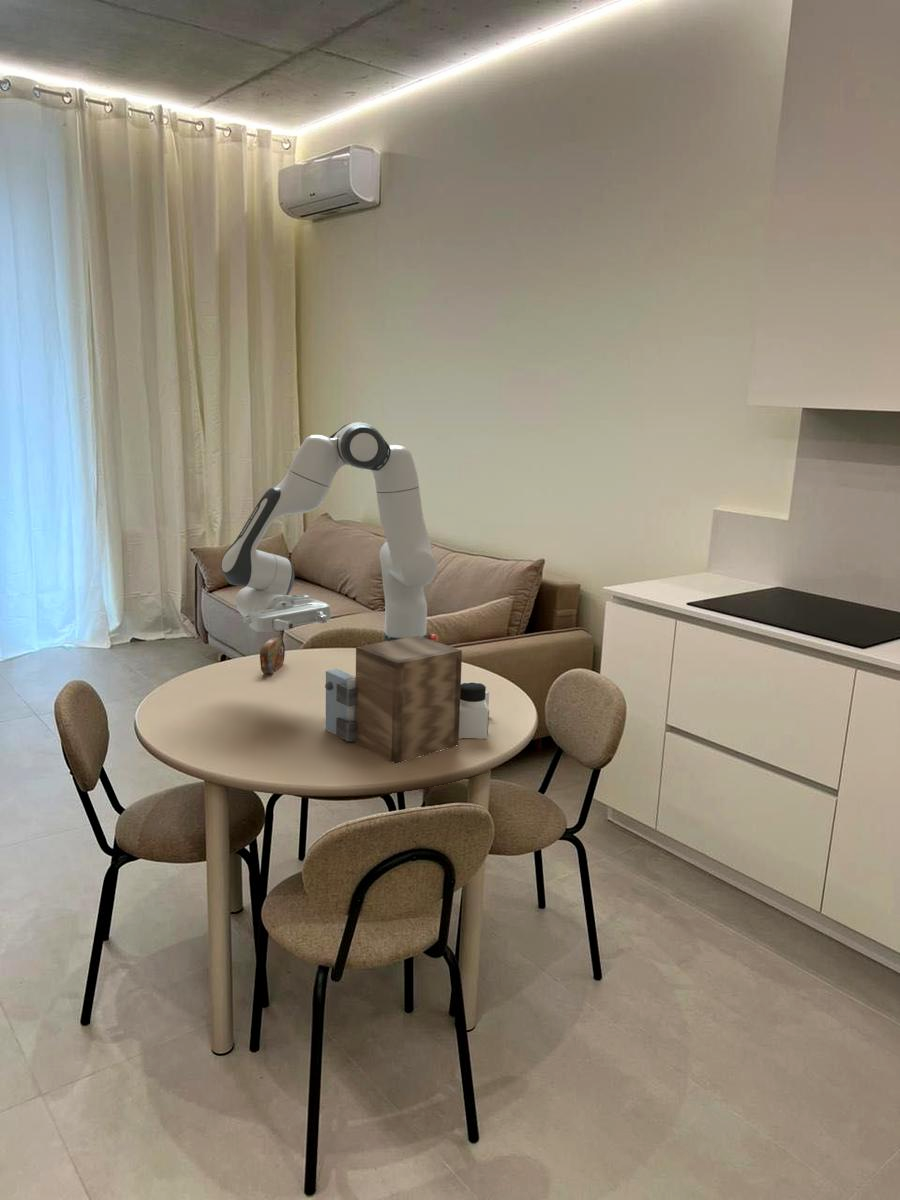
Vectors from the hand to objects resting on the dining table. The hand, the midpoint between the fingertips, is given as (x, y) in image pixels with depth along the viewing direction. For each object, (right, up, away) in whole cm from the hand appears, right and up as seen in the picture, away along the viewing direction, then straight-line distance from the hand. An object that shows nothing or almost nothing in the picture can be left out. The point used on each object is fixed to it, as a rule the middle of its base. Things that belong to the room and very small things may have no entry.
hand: (307, 622), depth 210 cm
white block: (+39, -23, +9) cm, 46 cm away
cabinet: (+22, -26, -11) cm, 36 cm away
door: (+9, -25, -7) cm, 28 cm away
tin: (-16, -14, +40) cm, 46 cm away
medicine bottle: (+38, -26, -4) cm, 46 cm away
